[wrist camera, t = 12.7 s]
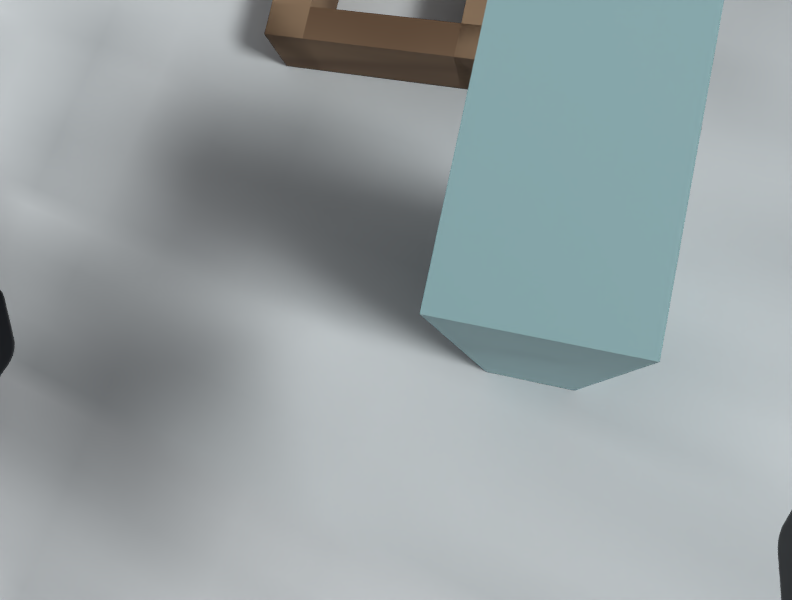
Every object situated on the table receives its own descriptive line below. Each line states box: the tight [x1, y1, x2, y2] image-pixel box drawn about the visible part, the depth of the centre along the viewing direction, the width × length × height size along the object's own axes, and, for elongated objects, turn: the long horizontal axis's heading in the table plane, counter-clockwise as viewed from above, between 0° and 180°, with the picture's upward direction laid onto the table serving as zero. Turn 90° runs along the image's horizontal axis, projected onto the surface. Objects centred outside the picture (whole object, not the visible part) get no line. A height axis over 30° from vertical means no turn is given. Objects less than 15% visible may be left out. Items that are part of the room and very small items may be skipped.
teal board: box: [420, 0, 724, 390], centre depth 14 cm, size 4×2×13 cm, turn 167°
